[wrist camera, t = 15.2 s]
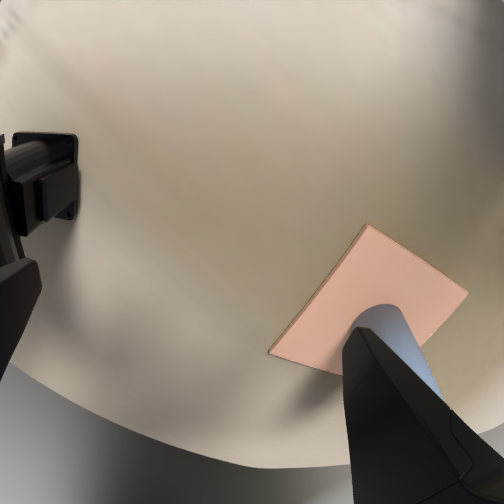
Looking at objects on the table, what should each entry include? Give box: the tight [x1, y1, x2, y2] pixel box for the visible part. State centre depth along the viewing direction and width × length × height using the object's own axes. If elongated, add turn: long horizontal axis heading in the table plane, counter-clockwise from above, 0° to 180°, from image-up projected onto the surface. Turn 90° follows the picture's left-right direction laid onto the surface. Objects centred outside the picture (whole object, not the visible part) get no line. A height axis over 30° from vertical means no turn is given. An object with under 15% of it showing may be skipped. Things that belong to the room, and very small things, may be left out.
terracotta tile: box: [269, 224, 469, 376], centre depth 25 cm, size 14×14×1 cm
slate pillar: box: [350, 304, 444, 401], centre depth 19 cm, size 5×5×13 cm
